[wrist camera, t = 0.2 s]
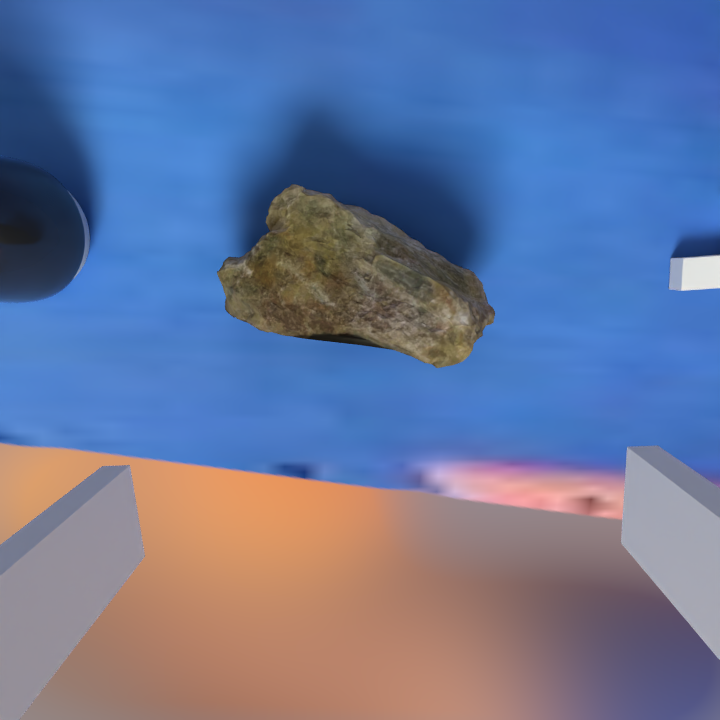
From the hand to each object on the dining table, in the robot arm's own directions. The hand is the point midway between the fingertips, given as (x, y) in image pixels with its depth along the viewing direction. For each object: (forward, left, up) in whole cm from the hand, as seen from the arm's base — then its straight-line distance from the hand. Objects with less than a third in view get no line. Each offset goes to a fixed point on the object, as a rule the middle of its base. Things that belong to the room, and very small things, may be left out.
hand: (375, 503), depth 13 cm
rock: (-5, -1, -28) cm, 29 cm away
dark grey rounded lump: (-10, -26, -28) cm, 39 cm away
